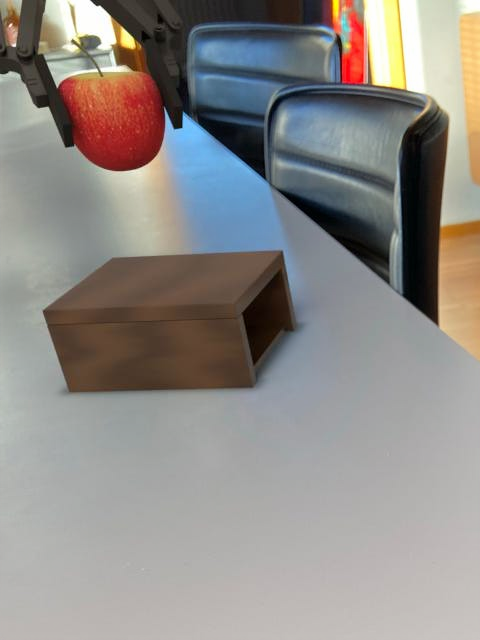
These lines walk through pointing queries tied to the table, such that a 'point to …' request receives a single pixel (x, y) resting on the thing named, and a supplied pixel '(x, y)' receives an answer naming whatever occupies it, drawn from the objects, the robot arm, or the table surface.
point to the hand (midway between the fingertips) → (124, 126)
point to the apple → (114, 117)
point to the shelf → (172, 322)
